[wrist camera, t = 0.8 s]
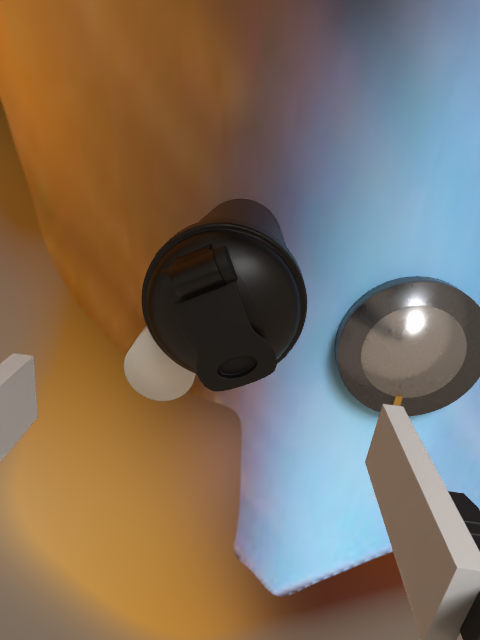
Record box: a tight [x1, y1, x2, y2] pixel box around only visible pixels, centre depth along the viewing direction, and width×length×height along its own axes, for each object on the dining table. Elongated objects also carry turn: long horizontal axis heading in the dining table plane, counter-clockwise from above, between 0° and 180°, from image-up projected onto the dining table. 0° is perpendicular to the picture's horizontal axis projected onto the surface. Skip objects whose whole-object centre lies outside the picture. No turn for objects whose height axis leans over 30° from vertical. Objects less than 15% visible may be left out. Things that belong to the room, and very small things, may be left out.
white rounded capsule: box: [124, 325, 196, 401], centre depth 45 cm, size 7×7×8 cm
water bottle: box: [142, 199, 307, 391], centre depth 34 cm, size 10×10×23 cm
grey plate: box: [335, 276, 480, 416], centre depth 47 cm, size 16×16×2 cm
